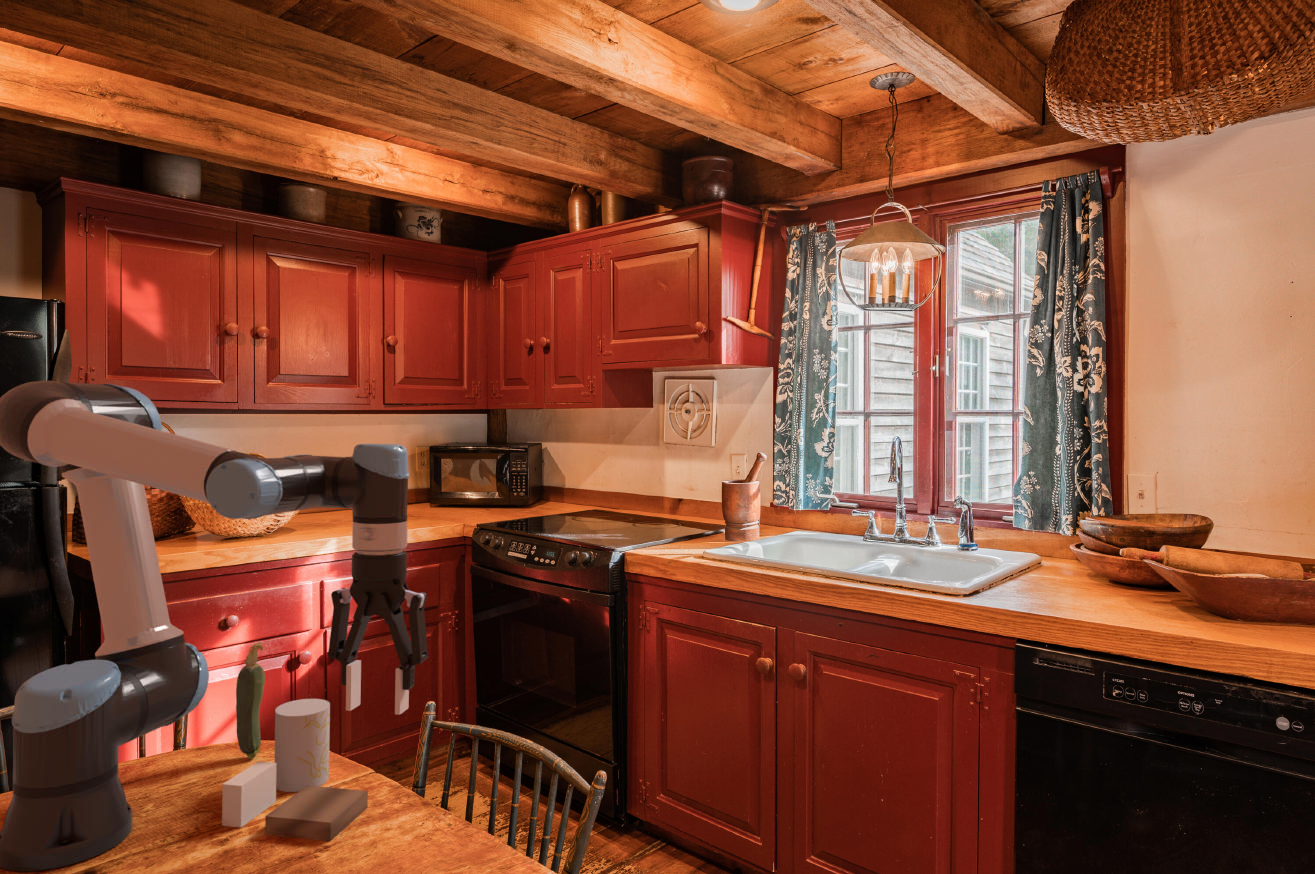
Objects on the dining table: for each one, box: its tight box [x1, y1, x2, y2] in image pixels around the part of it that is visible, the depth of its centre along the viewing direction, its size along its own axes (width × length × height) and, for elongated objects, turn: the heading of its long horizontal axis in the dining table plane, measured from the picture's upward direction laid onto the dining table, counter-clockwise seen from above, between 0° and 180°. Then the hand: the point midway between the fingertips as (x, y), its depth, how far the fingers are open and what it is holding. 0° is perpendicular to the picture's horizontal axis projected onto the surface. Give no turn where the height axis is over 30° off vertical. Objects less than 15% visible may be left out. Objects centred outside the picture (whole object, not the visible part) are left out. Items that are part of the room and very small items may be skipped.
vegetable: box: [235, 641, 266, 761], centre depth 138 cm, size 4×4×20 cm
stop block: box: [221, 761, 277, 829], centre depth 118 cm, size 3×8×6 cm, turn 171°
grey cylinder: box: [274, 698, 331, 793], centre depth 130 cm, size 8×8×12 cm
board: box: [264, 785, 369, 842], centre depth 117 cm, size 10×10×3 cm
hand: (377, 708), depth 115 cm, fingers open, 7 cm apart
